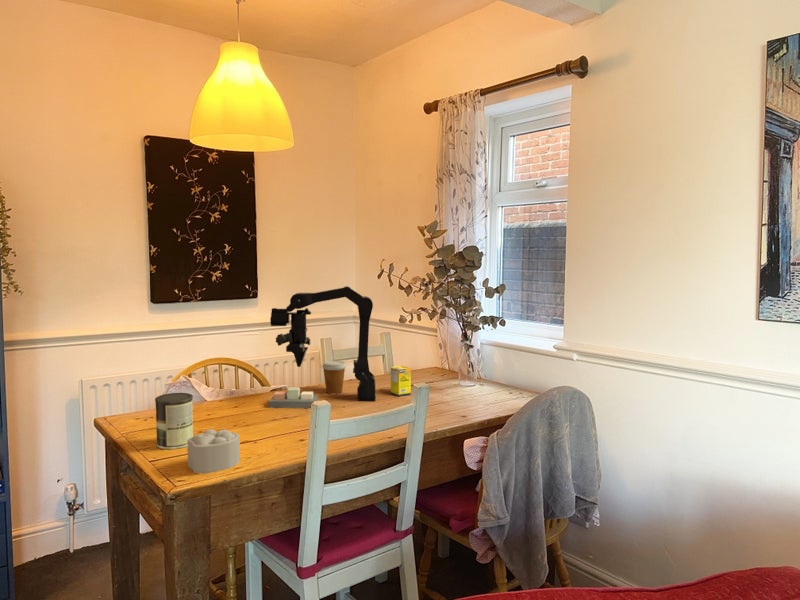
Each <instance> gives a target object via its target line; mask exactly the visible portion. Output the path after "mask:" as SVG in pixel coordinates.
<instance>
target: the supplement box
mask: <svg viewBox="0 0 800 600" xmlns="http://www.w3.org/2000/svg"><path fill="white" fill-rule="evenodd" d="M411 369H412V368H411V367H407V366H405V365H397V366H390V394H391V395H394V396H396V397H404V396H410V395H411V389H412V388H411V384H412V383H411V382H412V381H411V380H412V379H411V378H412V376H411V375H412V370H411Z"/></svg>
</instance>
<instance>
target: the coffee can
mask: <svg viewBox="0 0 800 600" xmlns="http://www.w3.org/2000/svg"><path fill="white" fill-rule="evenodd" d="M193 399H194V396H193V394H192V393H189V392H188V393H187V392H173V393H172V392H171V393H164V394H161V395H159V396H156V397H155V398H154V402H155V421H156V424H155V426H156V429H155V430H156V447H157V448H158V447H159V449H160V448H162V449H161V450H177V449H178V448H179V449H183V448H187V440H188V439H189V438H191V437H194V420H193V419H194V415H193V411H194V410H193Z"/></svg>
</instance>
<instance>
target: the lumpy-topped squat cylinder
mask: <svg viewBox="0 0 800 600" xmlns="http://www.w3.org/2000/svg"><path fill="white" fill-rule="evenodd" d="M240 436H241V435H240V434H239V433H236V432H234V431H232V432H231V431H230V430H228V429H221V430H219V431H218V430H217V431H216V430H214V429H211V428H210V429H209V428H208V429H206V430H204V432H203V433H197V434H195V435H193V437H191V438H189V439H188V440H187V447H186V448H187V467H188V466H189V467H190V468H189V467H188V468H189V469H191V471H192V470H193V471H192V472H193V473H194V472H195V473H194V474H196V473H199V474H198V475H204V473H206V474H211V473H216V472H219V471H225V470H228V469H232V468H234V467H236V466H237V465H238V464H239V463H240V462H241V443H240V442H241V440H240ZM200 473H202V474H200Z"/></svg>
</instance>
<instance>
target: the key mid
mask: <svg viewBox="0 0 800 600" xmlns="http://www.w3.org/2000/svg"><path fill="white" fill-rule="evenodd" d="M286 392H287V400H299V399H300V395H301V387H298V386H297V387H291V386H290V387H288V388H287V391H286Z"/></svg>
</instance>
